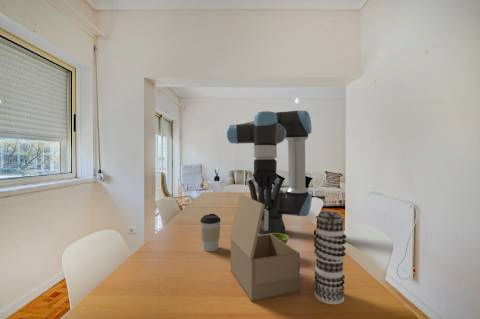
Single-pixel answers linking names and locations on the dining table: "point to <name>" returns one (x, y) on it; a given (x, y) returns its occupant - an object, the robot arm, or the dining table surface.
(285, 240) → the plant pot
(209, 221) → the coffee cup
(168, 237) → the dining table surface
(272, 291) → the carton
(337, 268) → the decorative candle
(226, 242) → the dining table surface
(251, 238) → the flap
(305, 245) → the dining table surface
